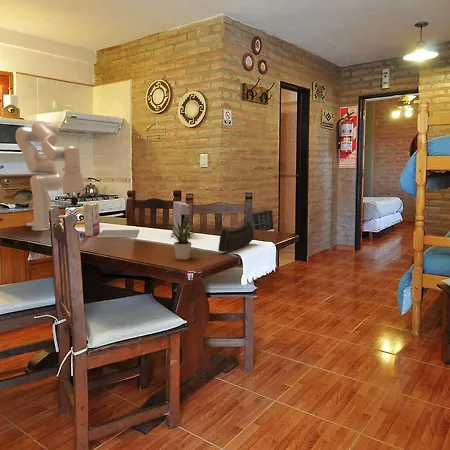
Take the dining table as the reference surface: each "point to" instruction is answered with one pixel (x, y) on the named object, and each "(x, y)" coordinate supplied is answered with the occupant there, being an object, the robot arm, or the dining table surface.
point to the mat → (118, 234)
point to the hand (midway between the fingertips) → (74, 205)
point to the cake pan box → (180, 215)
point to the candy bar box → (91, 219)
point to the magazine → (236, 238)
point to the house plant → (182, 241)
